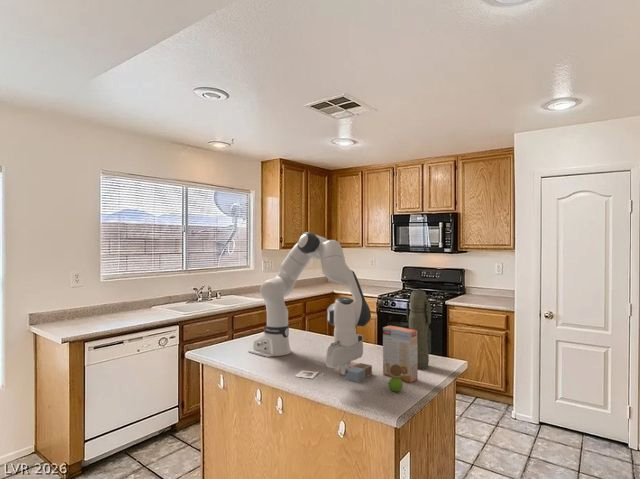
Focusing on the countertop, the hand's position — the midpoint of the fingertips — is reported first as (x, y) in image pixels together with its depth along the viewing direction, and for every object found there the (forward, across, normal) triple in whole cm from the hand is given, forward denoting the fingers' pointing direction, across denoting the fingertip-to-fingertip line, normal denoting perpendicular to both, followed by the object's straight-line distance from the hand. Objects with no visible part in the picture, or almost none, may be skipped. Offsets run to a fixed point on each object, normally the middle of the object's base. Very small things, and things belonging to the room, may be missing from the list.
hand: (344, 373), depth 155 cm
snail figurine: (+5, +8, -18) cm, 20 cm away
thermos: (+5, +42, -11) cm, 44 cm away
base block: (+5, +16, +2) cm, 17 cm away
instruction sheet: (+5, 0, +21) cm, 21 cm away
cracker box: (+5, +23, -12) cm, 27 cm away
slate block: (+5, +10, +2) cm, 11 cm away
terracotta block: (+5, +14, +9) cm, 17 cm away
